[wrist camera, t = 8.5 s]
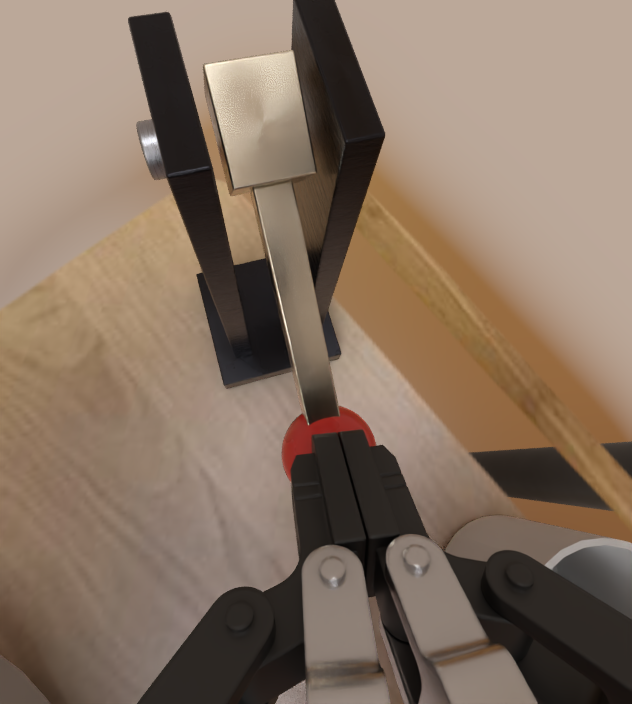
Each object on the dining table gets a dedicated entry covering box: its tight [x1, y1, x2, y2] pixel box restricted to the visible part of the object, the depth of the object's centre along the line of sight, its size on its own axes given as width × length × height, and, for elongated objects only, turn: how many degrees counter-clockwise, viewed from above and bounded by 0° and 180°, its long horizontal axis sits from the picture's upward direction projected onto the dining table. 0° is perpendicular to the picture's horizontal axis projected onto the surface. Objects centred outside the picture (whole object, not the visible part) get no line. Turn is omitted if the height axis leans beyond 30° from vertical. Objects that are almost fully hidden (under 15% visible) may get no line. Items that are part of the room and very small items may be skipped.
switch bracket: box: [128, 0, 385, 389], centre depth 19 cm, size 7×7×18 cm
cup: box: [445, 515, 632, 619], centre depth 20 cm, size 7×10×9 cm
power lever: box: [203, 50, 376, 482], centre depth 13 cm, size 13×3×3 cm, turn 16°
